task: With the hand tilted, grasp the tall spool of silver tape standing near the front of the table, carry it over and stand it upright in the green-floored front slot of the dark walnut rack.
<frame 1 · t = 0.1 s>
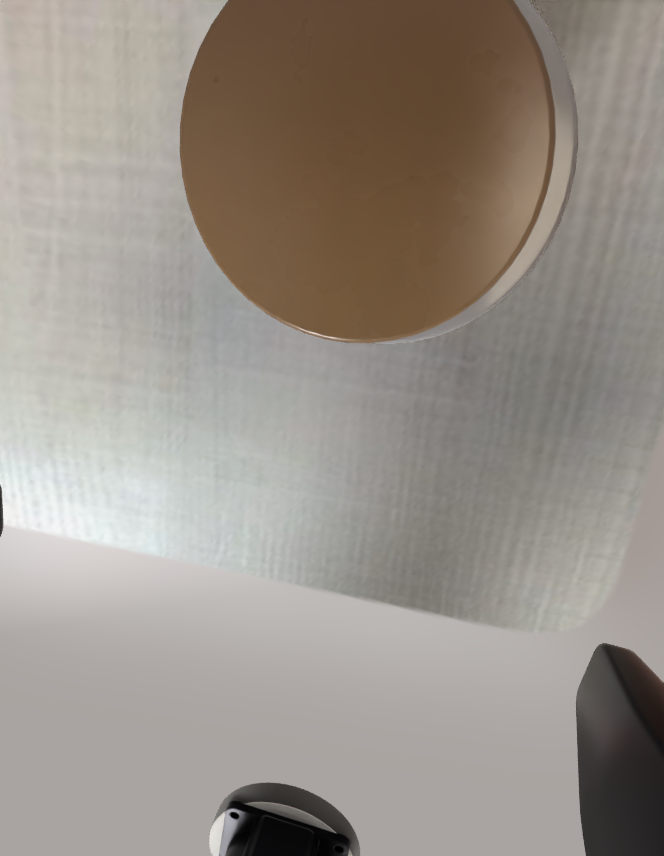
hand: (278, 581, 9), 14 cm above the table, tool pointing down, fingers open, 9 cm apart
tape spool: (428, 174, 20), on the table
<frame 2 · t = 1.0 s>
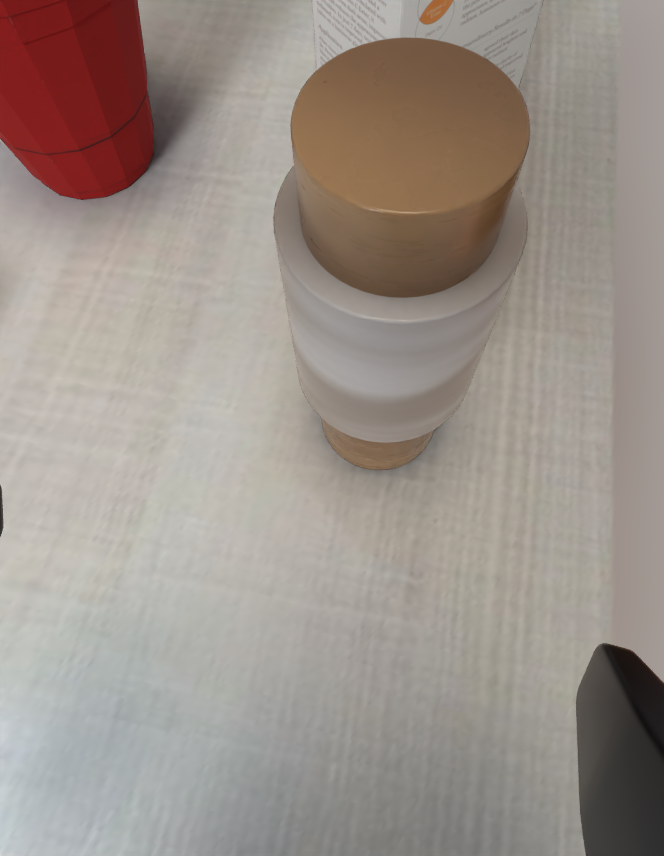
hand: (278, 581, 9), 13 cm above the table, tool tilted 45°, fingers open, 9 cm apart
plastic cup: (101, 155, 30), on the table
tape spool: (378, 416, 25), on the table
small box: (415, 115, 31), on the table
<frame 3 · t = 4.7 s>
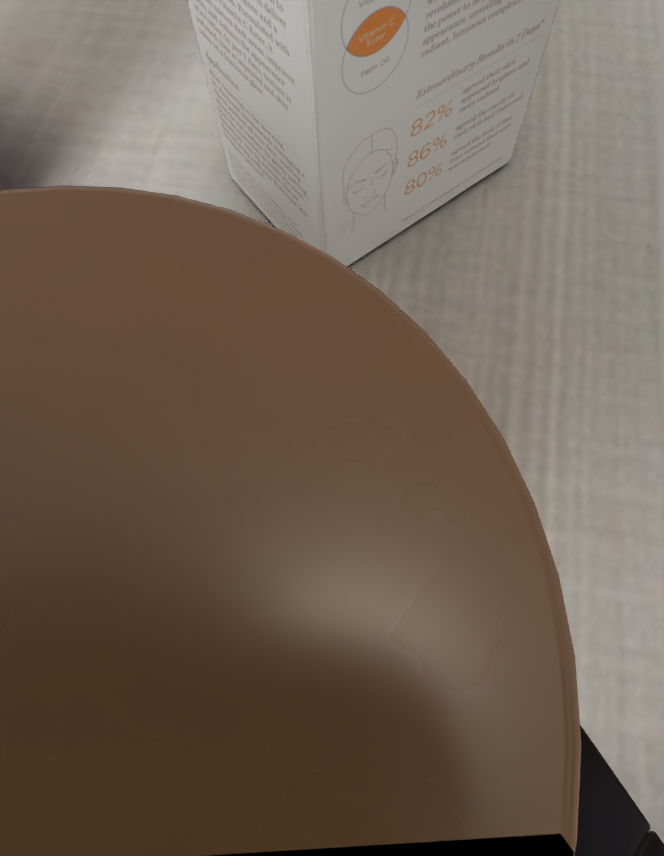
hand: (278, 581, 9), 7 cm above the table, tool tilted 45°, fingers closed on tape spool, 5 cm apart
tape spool: (290, 684, 15), on the table, touching gripper
small box: (368, 176, 21), on the table
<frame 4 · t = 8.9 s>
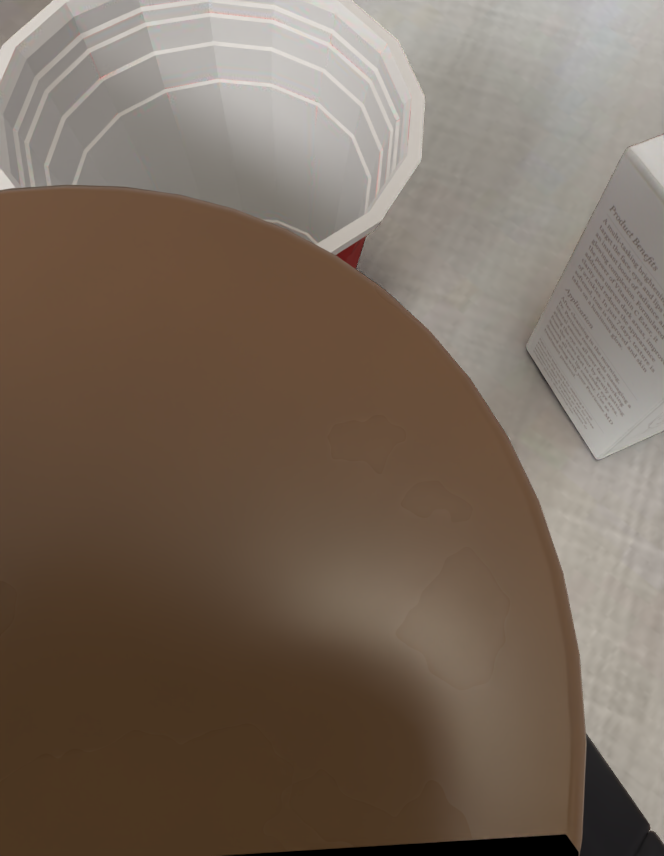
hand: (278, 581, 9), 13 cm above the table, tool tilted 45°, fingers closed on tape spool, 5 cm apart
plastic cup: (265, 343, 26), on the table
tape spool: (291, 683, 15), point 6 cm above the table, touching gripper
small box: (639, 369, 25), on the table
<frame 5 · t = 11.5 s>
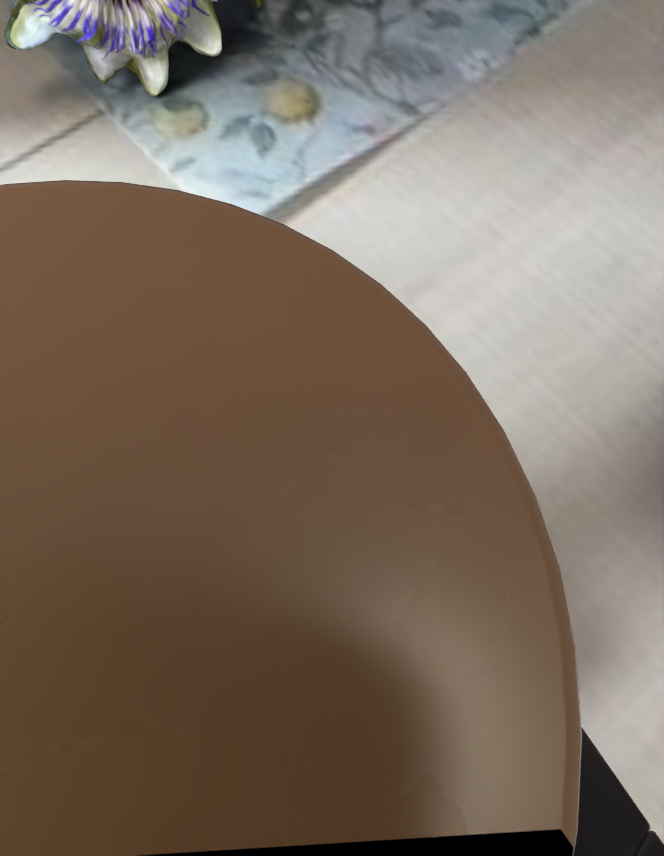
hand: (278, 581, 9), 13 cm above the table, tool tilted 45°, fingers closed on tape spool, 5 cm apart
passion flower: (154, 36, 33), on the table
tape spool: (290, 682, 15), point 6 cm above the table, touching gripper
when the fingers open (8 cm above the table, at t = 13.5 s): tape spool stays where it is, resting on rack.
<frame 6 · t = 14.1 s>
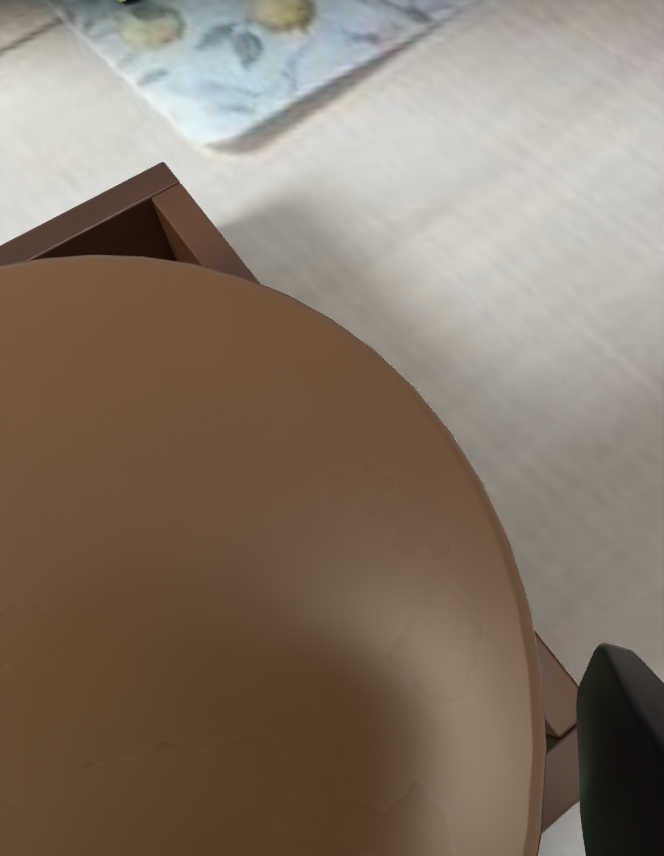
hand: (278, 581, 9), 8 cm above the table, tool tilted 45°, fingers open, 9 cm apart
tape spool: (292, 687, 16), point 1 cm above the table, touching rack
rack: (205, 544, 18), on the table
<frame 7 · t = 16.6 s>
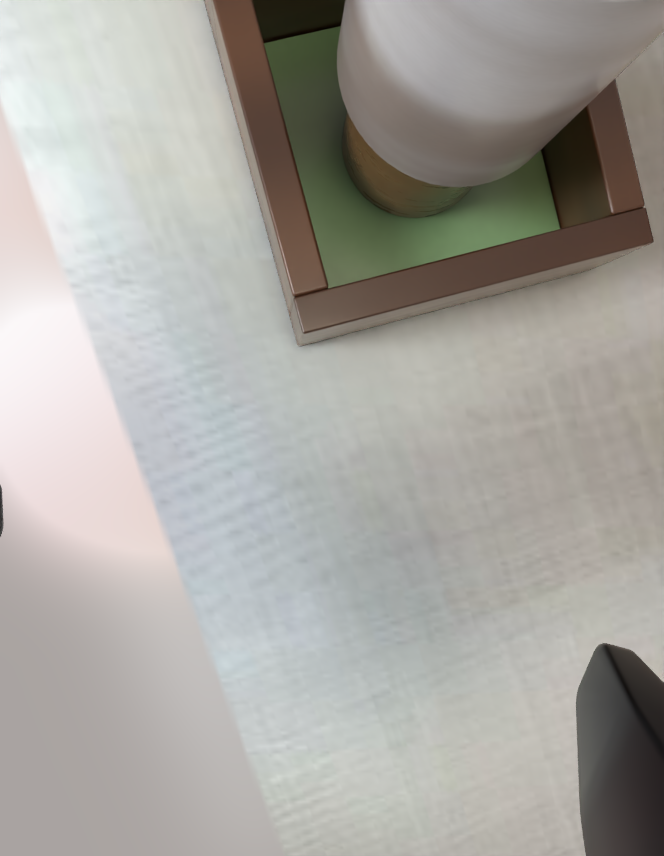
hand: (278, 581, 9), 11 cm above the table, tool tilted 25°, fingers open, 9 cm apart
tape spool: (412, 146, 19), point 1 cm above the table, touching rack
rack: (371, 13, 20), on the table
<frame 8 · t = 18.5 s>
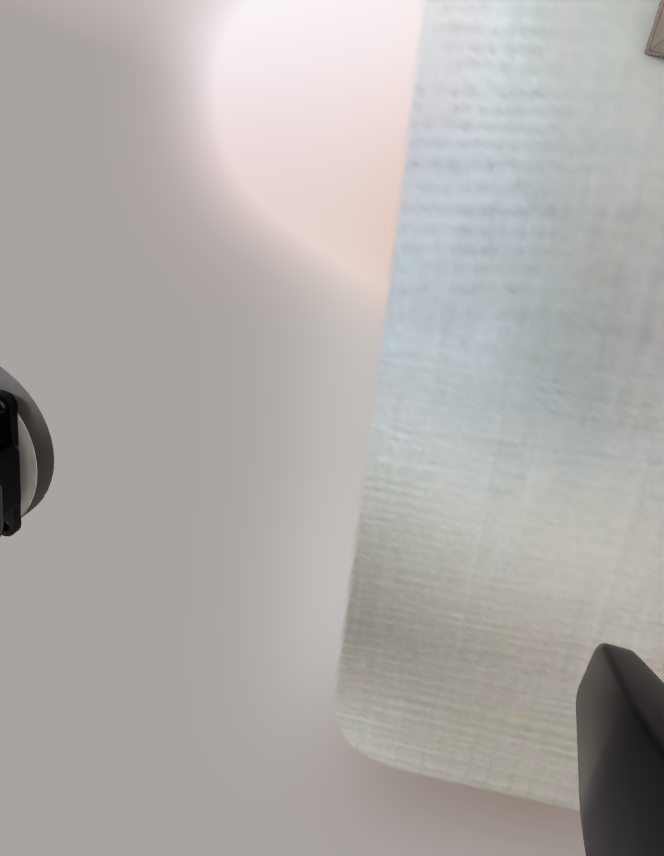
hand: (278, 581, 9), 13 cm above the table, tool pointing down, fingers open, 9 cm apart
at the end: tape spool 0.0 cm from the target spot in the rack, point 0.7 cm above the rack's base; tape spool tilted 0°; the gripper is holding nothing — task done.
